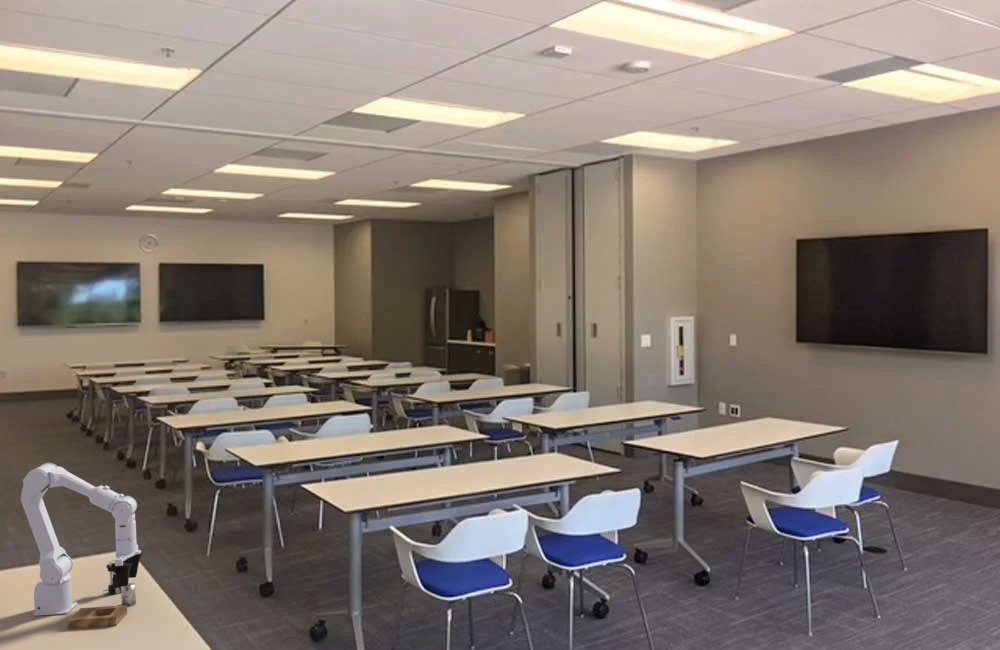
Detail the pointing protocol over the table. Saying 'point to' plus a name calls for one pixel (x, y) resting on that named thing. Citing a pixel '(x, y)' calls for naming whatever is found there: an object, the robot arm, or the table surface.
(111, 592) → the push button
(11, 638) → the table surface
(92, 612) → the jig
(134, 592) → the brushed metal cylinder
